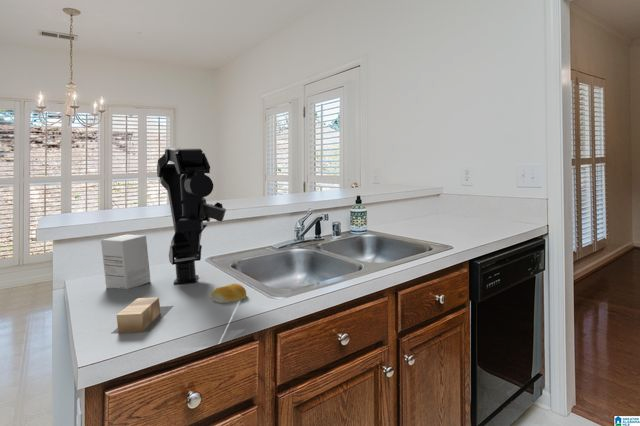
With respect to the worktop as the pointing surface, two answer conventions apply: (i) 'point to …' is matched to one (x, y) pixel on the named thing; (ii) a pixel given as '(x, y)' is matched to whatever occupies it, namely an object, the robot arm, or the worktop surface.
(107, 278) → the supplement box
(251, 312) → the worktop surface
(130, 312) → the oak block
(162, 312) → the mat
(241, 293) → the bread roll
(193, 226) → the robot arm
